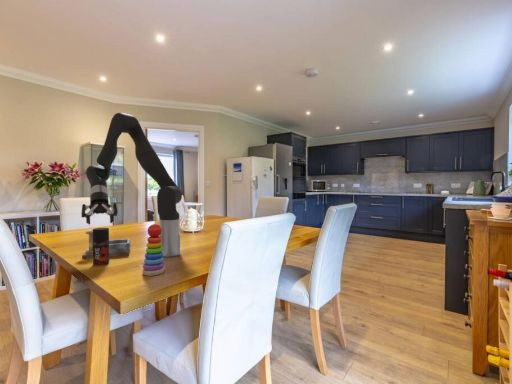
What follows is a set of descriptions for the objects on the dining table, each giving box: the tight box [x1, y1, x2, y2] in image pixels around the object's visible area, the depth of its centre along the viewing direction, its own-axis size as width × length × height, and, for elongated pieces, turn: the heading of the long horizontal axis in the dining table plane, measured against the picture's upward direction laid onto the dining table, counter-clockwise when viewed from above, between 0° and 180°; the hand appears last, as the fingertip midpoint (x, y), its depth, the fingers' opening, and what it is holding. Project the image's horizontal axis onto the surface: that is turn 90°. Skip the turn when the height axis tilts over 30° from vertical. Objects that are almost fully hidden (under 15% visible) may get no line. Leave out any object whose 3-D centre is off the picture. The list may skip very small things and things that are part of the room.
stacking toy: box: [141, 223, 165, 277], centre depth 98 cm, size 8×8×19 cm
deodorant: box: [92, 227, 110, 267], centre depth 108 cm, size 6×6×15 cm
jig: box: [81, 229, 131, 260], centre depth 124 cm, size 19×11×12 cm, turn 114°
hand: (100, 222), depth 116 cm, fingers open, 8 cm apart
